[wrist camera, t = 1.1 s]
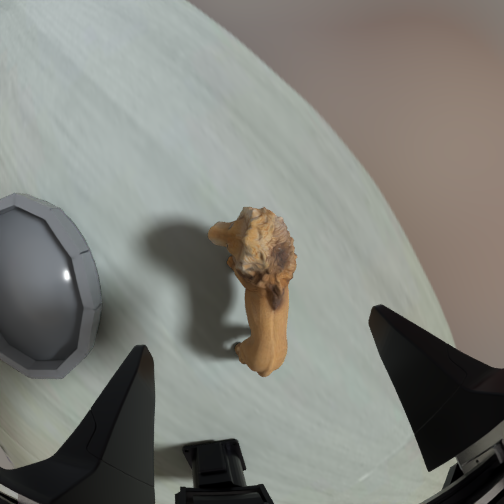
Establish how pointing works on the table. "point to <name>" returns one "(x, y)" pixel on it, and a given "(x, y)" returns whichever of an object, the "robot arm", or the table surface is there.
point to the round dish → (45, 289)
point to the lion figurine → (260, 282)
